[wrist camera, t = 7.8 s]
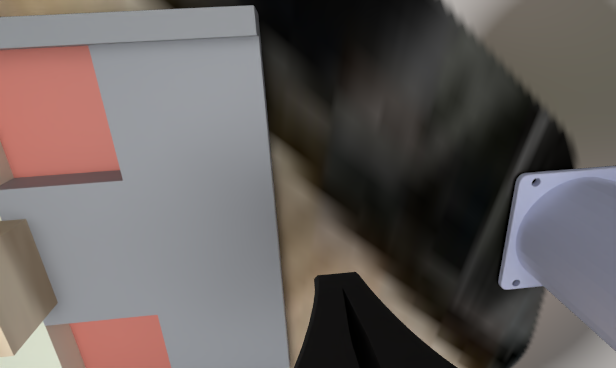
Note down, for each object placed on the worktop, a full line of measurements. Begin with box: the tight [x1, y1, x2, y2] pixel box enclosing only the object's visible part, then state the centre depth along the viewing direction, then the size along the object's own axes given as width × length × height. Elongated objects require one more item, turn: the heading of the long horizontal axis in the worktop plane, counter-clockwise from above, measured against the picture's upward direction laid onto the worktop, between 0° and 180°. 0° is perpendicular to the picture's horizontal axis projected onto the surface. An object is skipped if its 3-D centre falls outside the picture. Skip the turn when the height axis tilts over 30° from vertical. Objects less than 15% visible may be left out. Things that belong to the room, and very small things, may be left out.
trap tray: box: [0, 5, 290, 368], centre depth 18 cm, size 18×22×5 cm
